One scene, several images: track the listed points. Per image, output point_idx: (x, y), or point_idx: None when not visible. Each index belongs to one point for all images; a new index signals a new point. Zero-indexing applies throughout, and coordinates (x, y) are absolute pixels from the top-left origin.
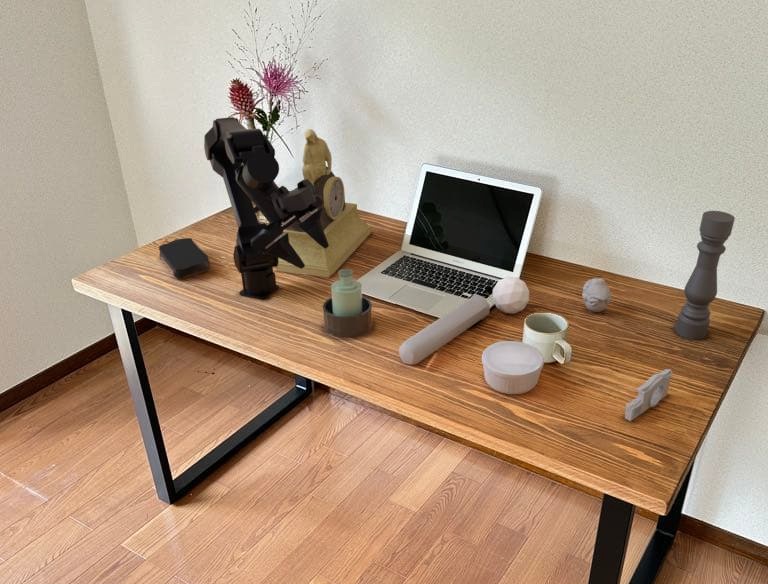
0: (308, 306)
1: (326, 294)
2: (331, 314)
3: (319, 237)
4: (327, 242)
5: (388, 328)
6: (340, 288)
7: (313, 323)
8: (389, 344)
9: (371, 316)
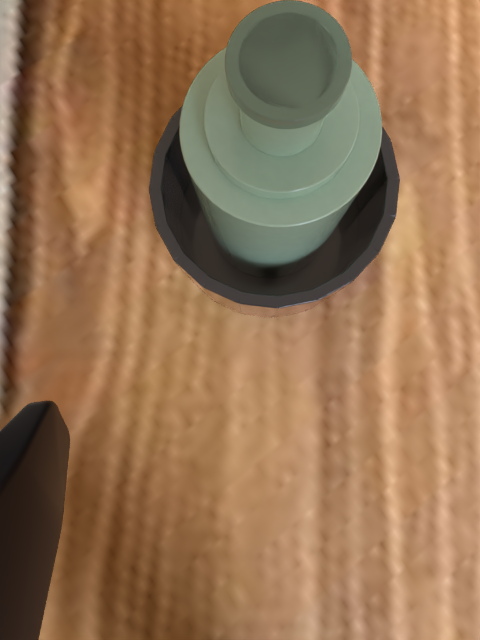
0: (217, 470)
1: (86, 472)
2: (392, 192)
3: (10, 555)
4: (10, 427)
5: None
6: (356, 112)
7: (322, 357)
8: None
9: None
